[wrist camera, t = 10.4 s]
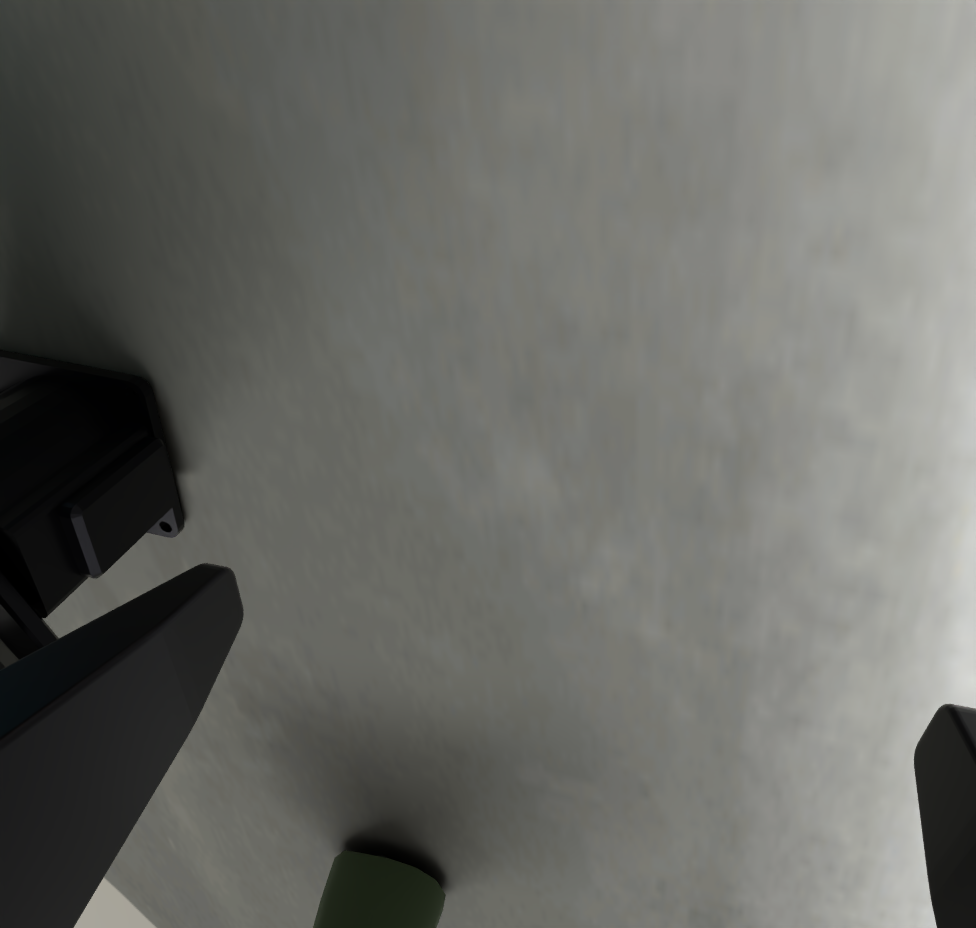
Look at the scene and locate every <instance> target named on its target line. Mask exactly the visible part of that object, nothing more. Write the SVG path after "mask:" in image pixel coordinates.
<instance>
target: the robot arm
mask: <svg viewBox="0 0 976 928" xmlns="http://www.w3.org/2000/svg"><path fill="white" fill-rule="evenodd" d="M134 391H135V392H136V393H137V394H138V395H137V394H136V393H135V392H134ZM183 528H184V520H183V516H182V512H181V507H180V503H179V499H178V495H177V491H176V486H175V482H174V478H173V474H172V470H171V465H170V461H169V457H168V453H167V449H166V444H165V440H164V436H163V432H162V428H161V423H160V419H159V415H158V411H157V407H156V402H155V398H154V394H153V391H152V388H151V386H150V385H149V384H148V383H147V381H145V380H144V379H143V378H141V377H138V376H135V375H130V374H125V373H119V372H114V371H109V370H104V369H98V368H93V367H88V366H82V365H77V364H72V363H66V362H61V361H56V360H51V359H45V358H40V357H35V356H29V355H24V354H19V353H13V352H8V351H3V350H0V928H74V926H75V924H76V923H77V921H78V919H79V918H80V916H81V914H82V912H83V911H84V909H85V907H86V906H87V904H88V902H89V901H90V899H91V897H92V896H93V894H94V892H95V891H96V889H97V887H98V886H99V884H100V882H101V881H102V879H103V877H104V876H105V874H106V872H107V871H108V869H109V867H110V866H111V864H112V862H113V861H114V859H115V857H116V856H117V854H118V852H119V851H120V849H121V847H122V846H123V844H124V842H125V840H126V839H127V837H128V835H129V834H130V832H131V830H132V829H133V827H134V825H135V824H136V822H137V820H138V819H139V817H140V815H141V814H142V812H143V810H144V809H145V807H146V805H147V804H148V802H149V800H150V799H151V797H152V795H153V794H154V792H155V790H156V789H157V787H158V785H159V784H160V782H161V780H162V779H163V777H164V775H165V774H166V772H167V770H168V769H169V767H170V765H171V763H172V762H173V760H174V758H175V757H176V755H177V753H178V752H179V750H180V748H181V747H182V745H183V743H184V742H185V740H186V738H187V737H188V735H189V733H190V731H191V729H192V728H193V726H194V724H195V722H196V720H197V718H198V716H199V714H200V712H201V710H202V708H203V706H204V704H205V702H206V700H207V698H208V696H209V693H210V691H211V689H212V687H213V685H214V683H215V681H216V678H217V676H218V674H219V672H220V670H221V668H222V666H223V663H224V661H225V659H226V657H227V655H228V653H229V651H230V648H231V646H232V644H233V642H234V640H235V638H236V636H237V633H238V631H239V629H240V627H241V624H242V620H243V605H242V601H241V597H240V593H239V590H238V586H237V582H236V578H235V574H234V572H233V571H232V570H231V569H230V568H228V567H224V566H219V565H214V564H208V563H204V564H200V565H197V566H195V567H193V568H191V569H190V570H188V571H186V572H184V573H182V574H180V575H178V576H176V577H174V578H173V579H171V580H169V581H167V582H165V583H163V584H161V585H159V586H157V587H156V588H154V589H152V590H150V591H148V592H146V593H144V594H142V595H140V596H139V597H137V598H135V599H133V600H131V601H129V602H127V603H125V604H123V605H122V606H120V607H118V608H116V609H114V610H112V611H110V612H108V613H106V614H105V615H103V616H101V617H99V618H97V619H95V620H93V621H91V622H89V623H88V624H86V625H84V626H82V627H80V628H78V629H76V630H74V631H72V632H71V633H69V634H67V635H65V636H63V637H61V638H58V637H57V636H56V635H55V633H54V632H53V631H52V630H51V629H50V627H49V626H48V625H47V624H46V623H45V621H44V620H43V619H42V618H46V617H47V616H48V615H49V614H50V613H51V612H52V611H53V610H55V609H56V608H57V607H58V606H59V605H60V604H61V603H62V602H63V601H64V600H65V599H66V598H67V597H68V596H69V595H70V594H71V593H72V592H74V591H75V590H76V589H77V588H78V587H79V586H80V585H81V584H82V583H83V582H84V581H85V580H86V579H87V578H88V577H91V578H98V577H100V576H101V575H102V574H104V573H105V572H106V571H107V570H108V569H109V568H110V567H111V566H112V565H113V564H114V563H115V562H116V561H117V560H118V559H119V558H120V557H121V556H122V555H123V554H125V553H126V552H127V551H128V550H129V549H130V548H131V547H132V546H133V545H134V544H135V543H136V542H137V541H138V540H139V539H140V538H141V537H142V536H143V535H144V534H145V533H146V532H147V533H151V534H156V535H160V536H164V537H170V538H173V537H176V536H177V535H178V534H179V533H180V532H181V531H182V530H183ZM914 769H915V777H916V785H917V793H918V801H919V810H920V818H921V826H922V834H923V842H924V850H925V858H926V867H927V875H928V882H929V889H930V895H931V901H932V906H933V911H934V915H935V920H936V925H937V928H976V709H975V708H970V707H964V706H959V705H954V704H945V705H943V706H941V707H940V708H939V709H938V710H937V712H936V713H935V715H934V717H933V718H932V720H931V722H930V723H929V725H928V727H927V728H926V730H925V732H924V734H923V735H922V737H921V739H920V740H919V742H918V744H917V746H916V749H915V755H914Z"/></svg>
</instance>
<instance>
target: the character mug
mask: <svg viewBox="0 0 976 928" xmlns="http://www.w3.org/2000/svg"><path fill="white" fill-rule="evenodd" d="M444 901H445V893H444V892H443V890H442V889H441V887H440V885H439V884H438V882H437V881H436V880H435V879H434V878H432V877H430V876H429V875H427V874H425V873H424V872H422V871H421V870H419V869H417V868H416V867H413V866H410V865H407V864H404V863H401V862H398V861H395V860H392V859H389V858H386V857H385V856H384V855H378V856H374V855H369V854H364V853H358V852H352V851H346V850H345V851H343V852H342V853H341V854H339V855H338V856H337V857H335V859H334V862H333V865H332V868H331V871H330V874H329V877H328V880H327V883H326V886H325V889H324V892H323V895H322V898H321V901H320V905H319V908H318V912H317V915H316V919H315V923H314V926H313V928H436V927H437V924H438V922H439V919H440V916H441V913H442V911H443V906H444Z"/></svg>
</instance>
